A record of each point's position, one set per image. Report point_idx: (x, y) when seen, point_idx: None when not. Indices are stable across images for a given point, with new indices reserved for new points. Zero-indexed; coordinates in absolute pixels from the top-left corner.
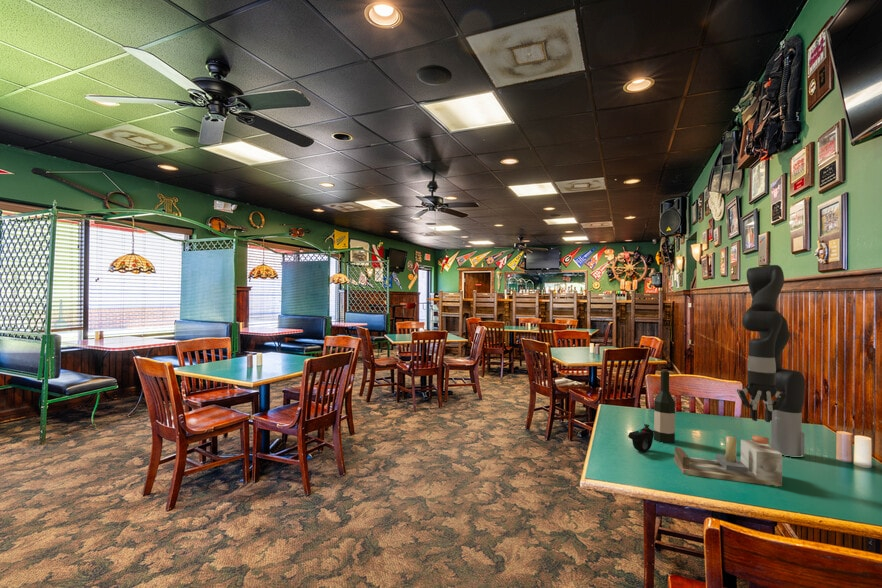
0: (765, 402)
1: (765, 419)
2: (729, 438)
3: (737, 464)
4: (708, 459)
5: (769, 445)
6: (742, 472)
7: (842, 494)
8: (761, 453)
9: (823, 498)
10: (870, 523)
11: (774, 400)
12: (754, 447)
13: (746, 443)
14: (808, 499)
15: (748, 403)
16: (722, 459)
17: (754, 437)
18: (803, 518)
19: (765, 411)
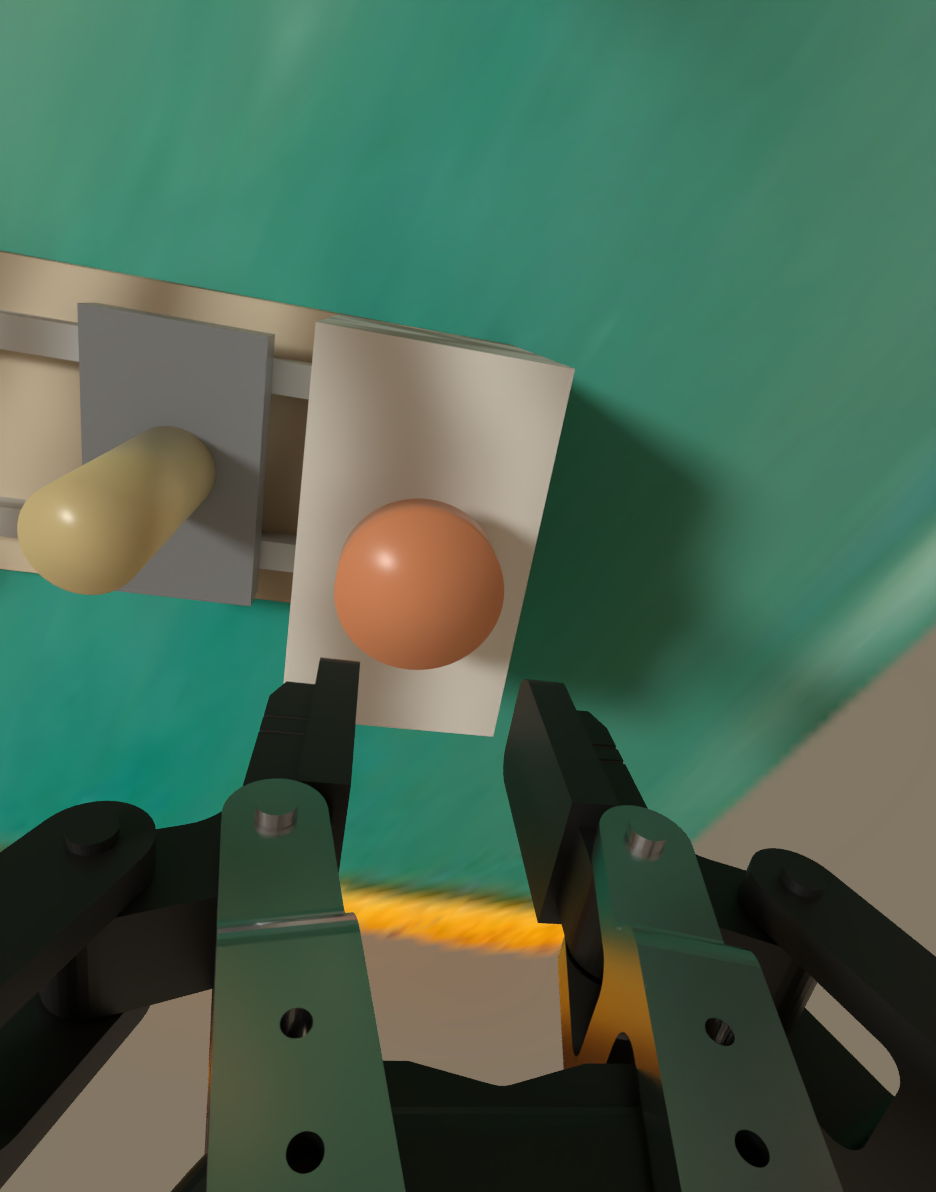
0: (597, 1039)
1: (520, 718)
2: (47, 577)
3: (194, 551)
4: (22, 320)
5: (543, 502)
6: None
7: (769, 636)
8: None
9: (604, 712)
10: None
11: (931, 1048)
12: (324, 607)
13: (305, 484)
14: (504, 742)
15: (69, 1073)
16: (99, 450)
17: (341, 604)
18: None
19: (554, 816)
